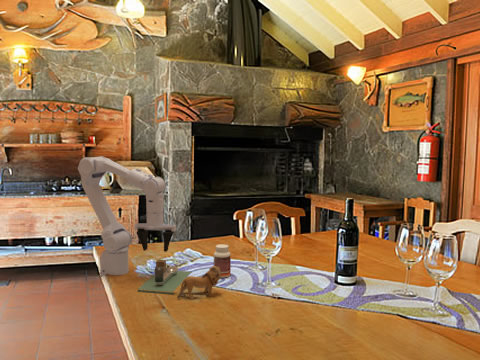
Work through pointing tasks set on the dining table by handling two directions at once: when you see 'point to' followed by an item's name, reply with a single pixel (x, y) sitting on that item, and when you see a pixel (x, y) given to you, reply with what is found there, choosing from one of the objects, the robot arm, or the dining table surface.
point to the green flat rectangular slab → (168, 286)
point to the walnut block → (161, 264)
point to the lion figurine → (201, 282)
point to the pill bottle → (223, 260)
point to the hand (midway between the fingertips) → (155, 250)
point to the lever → (163, 278)
